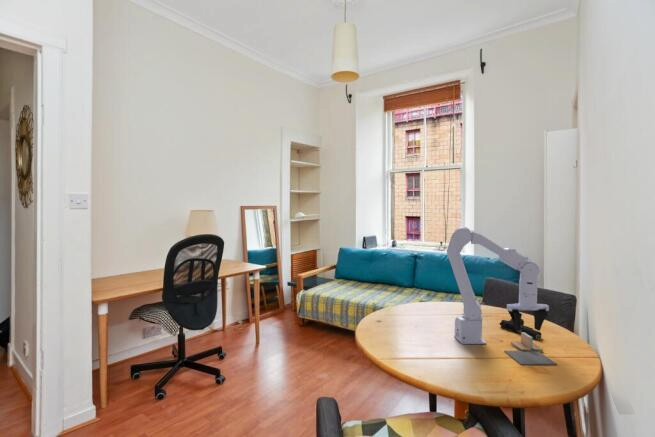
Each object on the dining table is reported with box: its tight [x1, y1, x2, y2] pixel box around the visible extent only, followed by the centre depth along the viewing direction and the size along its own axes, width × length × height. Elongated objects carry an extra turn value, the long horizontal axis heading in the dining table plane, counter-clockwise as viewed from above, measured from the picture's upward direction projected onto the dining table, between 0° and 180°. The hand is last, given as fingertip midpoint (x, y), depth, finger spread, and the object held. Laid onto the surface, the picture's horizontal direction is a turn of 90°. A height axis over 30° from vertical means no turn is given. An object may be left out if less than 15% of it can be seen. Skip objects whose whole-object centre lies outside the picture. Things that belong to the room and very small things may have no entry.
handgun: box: [499, 318, 542, 340], centre depth 141 cm, size 3×17×12 cm
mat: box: [503, 350, 558, 366], centre depth 115 cm, size 12×10×1 cm
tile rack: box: [510, 340, 544, 353], centre depth 123 cm, size 8×7×1 cm
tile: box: [520, 332, 534, 350], centre depth 123 cm, size 1×5×5 cm, turn 1°
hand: (527, 329), depth 123 cm, fingers open, 7 cm apart
